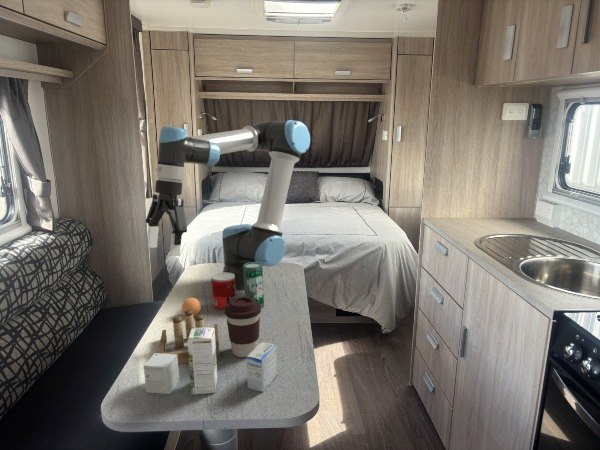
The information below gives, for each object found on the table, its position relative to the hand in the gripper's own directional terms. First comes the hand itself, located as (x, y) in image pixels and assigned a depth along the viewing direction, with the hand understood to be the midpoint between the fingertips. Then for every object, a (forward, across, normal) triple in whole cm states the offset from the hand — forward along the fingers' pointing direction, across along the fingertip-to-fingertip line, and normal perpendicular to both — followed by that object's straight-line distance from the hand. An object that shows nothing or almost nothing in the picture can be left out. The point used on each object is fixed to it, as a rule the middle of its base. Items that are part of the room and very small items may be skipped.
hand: (163, 251), depth 135 cm
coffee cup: (+24, +28, +12) cm, 39 cm away
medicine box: (+25, +43, +6) cm, 50 cm away
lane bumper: (+25, +15, +3) cm, 29 cm away
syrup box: (+27, +35, -5) cm, 44 cm away
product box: (+28, +27, -12) cm, 41 cm away
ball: (+20, -4, +14) cm, 24 cm away
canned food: (+20, -2, +26) cm, 33 cm away
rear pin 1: (+25, +12, +1) cm, 28 cm away
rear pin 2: (+24, +16, +6) cm, 30 cm away
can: (+19, +6, +33) cm, 39 cm away
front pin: (+24, +11, +6) cm, 27 cm away
